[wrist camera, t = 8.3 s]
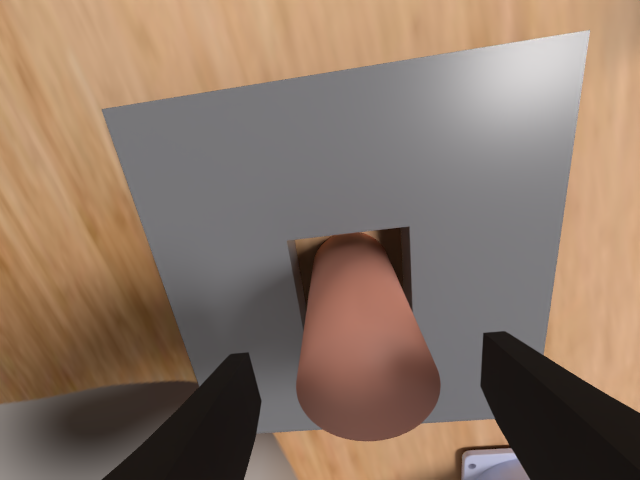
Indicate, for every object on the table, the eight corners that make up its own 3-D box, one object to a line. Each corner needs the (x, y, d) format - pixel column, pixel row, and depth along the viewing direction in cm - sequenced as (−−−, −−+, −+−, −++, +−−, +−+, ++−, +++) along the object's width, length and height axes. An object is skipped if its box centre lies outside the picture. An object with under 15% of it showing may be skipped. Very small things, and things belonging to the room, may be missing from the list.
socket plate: (513, 386, 18) (534, 416, 16) (227, 406, 20) (216, 436, 18) (550, 45, 12) (589, 29, 10) (133, 112, 14) (101, 109, 12)
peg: (391, 296, 16) (440, 437, 9) (318, 303, 17) (307, 444, 9) (386, 227, 15) (440, 324, 7) (308, 236, 15) (284, 338, 8)
